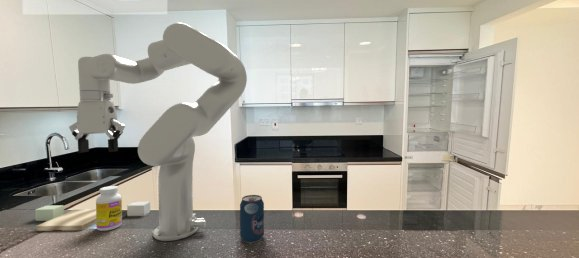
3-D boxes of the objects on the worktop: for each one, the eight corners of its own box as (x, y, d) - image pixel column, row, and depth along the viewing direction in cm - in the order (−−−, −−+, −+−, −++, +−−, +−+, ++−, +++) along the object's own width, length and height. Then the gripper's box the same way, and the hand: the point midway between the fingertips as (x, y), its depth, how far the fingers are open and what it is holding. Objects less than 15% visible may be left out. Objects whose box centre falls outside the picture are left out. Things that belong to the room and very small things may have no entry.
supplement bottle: (108, 232, 74) (107, 191, 73) (90, 230, 75) (89, 190, 74) (127, 223, 80) (126, 185, 80) (110, 221, 81) (109, 184, 81)
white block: (150, 212, 91) (150, 201, 90) (144, 216, 87) (144, 205, 86) (134, 212, 90) (134, 201, 90) (127, 216, 86) (127, 205, 86)
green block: (64, 216, 86) (63, 205, 86) (53, 220, 82) (53, 209, 82) (46, 216, 86) (46, 205, 86) (35, 221, 82) (35, 209, 82)
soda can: (258, 245, 66) (257, 202, 66) (235, 242, 68) (235, 200, 68) (267, 234, 73) (267, 195, 72) (246, 231, 75) (246, 193, 74)
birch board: (113, 213, 89) (113, 209, 89) (82, 230, 75) (82, 225, 75) (74, 213, 89) (74, 209, 89) (35, 230, 75) (35, 226, 75)
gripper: (130, 98, 79) (133, 149, 79) (80, 99, 79) (82, 151, 80) (113, 95, 71) (115, 152, 72) (57, 97, 72) (60, 154, 73)
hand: (98, 151), depth 76 cm, fingers open, 9 cm apart
